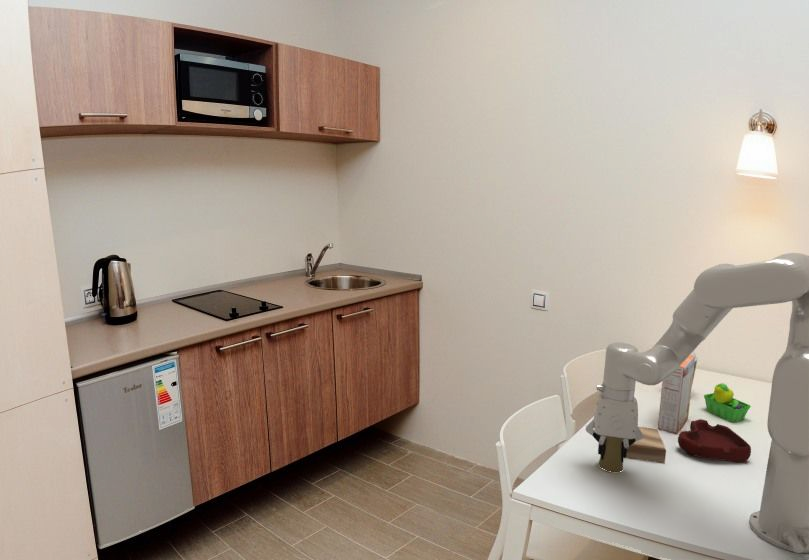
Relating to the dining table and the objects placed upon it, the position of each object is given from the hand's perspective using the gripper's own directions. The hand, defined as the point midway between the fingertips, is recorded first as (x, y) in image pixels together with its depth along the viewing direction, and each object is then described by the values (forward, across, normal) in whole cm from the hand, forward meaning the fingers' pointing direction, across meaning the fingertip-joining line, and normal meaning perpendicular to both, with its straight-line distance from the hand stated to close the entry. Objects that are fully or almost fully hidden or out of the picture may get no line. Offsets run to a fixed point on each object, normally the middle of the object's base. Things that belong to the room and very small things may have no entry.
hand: (611, 457), depth 140 cm
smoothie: (+3, +28, +57) cm, 64 cm away
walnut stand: (+2, +8, +12) cm, 15 cm away
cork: (+3, 0, 0) cm, 3 cm away
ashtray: (+3, +29, +17) cm, 33 cm away
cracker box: (+3, +21, +32) cm, 38 cm away
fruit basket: (+3, +38, +43) cm, 57 cm away
